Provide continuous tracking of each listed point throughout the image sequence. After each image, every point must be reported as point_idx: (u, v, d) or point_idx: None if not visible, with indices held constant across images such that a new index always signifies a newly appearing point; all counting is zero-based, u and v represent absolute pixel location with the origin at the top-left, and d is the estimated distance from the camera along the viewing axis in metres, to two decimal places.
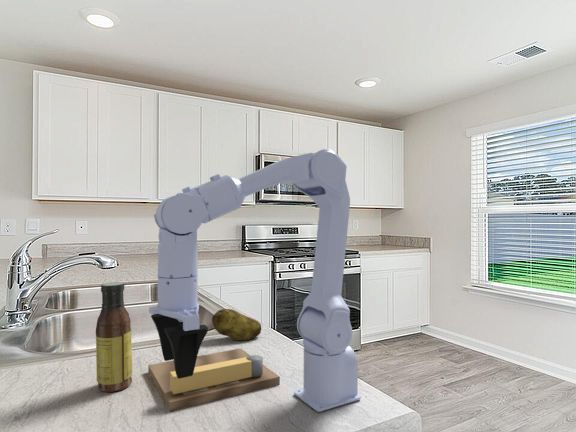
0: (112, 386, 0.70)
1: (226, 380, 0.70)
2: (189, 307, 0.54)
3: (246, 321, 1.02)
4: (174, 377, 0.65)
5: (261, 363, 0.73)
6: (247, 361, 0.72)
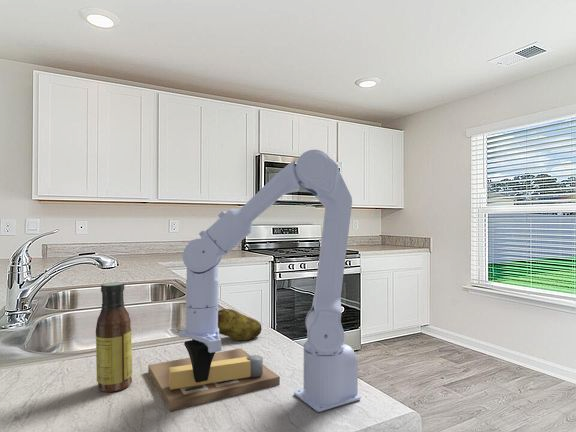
0: (112, 386, 0.70)
1: (224, 378, 0.71)
2: (211, 332, 0.66)
3: (246, 321, 1.02)
4: (171, 373, 0.67)
5: (260, 363, 0.73)
6: (246, 361, 0.73)
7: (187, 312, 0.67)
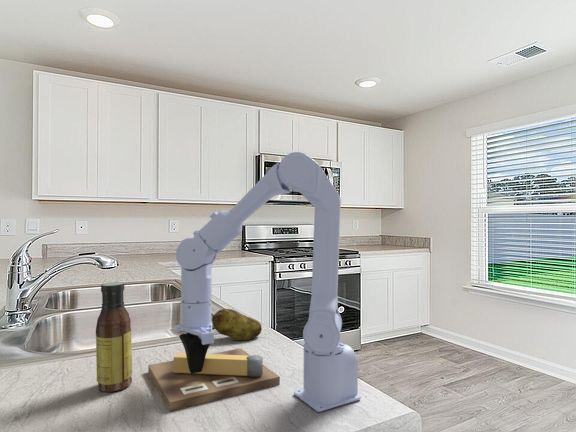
0: (112, 386, 0.70)
1: (221, 372, 0.74)
2: (205, 325, 0.71)
3: (246, 321, 1.02)
4: (174, 357, 0.75)
5: (257, 364, 0.73)
6: (243, 359, 0.74)
7: (182, 307, 0.71)
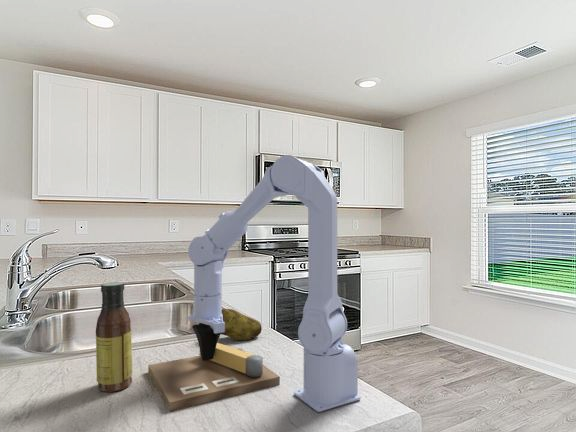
0: (112, 386, 0.70)
1: (228, 365, 0.77)
2: (216, 316, 0.77)
3: (246, 321, 1.02)
4: None
5: (252, 364, 0.73)
6: (244, 357, 0.75)
7: (195, 300, 0.77)
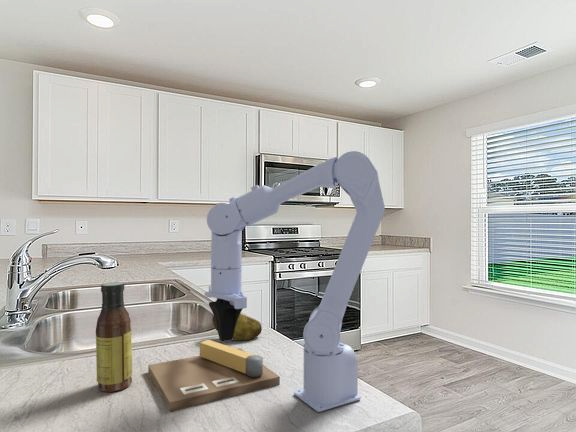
0: (112, 386, 0.70)
1: (228, 365, 0.77)
2: (236, 292, 0.70)
3: (246, 321, 1.02)
4: (200, 343, 0.84)
5: (252, 364, 0.73)
6: (244, 357, 0.75)
7: (213, 273, 0.70)
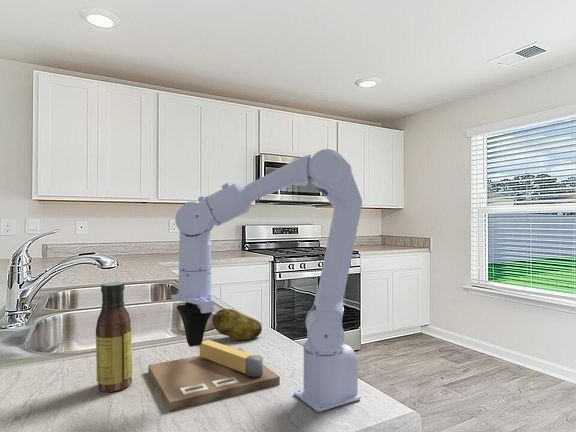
0: (112, 386, 0.70)
1: (228, 365, 0.77)
2: (204, 295, 0.67)
3: (246, 321, 1.02)
4: None
5: (252, 364, 0.73)
6: (244, 357, 0.75)
7: (180, 275, 0.67)
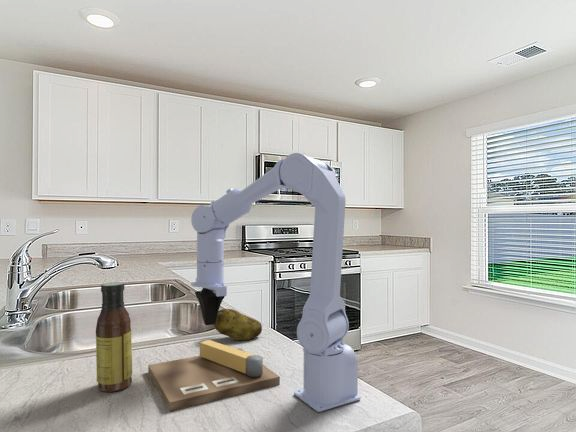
0: (112, 386, 0.70)
1: (228, 365, 0.77)
2: (218, 282, 0.80)
3: (246, 321, 1.02)
4: (200, 343, 0.84)
5: (252, 364, 0.73)
6: (244, 357, 0.75)
7: (198, 266, 0.80)
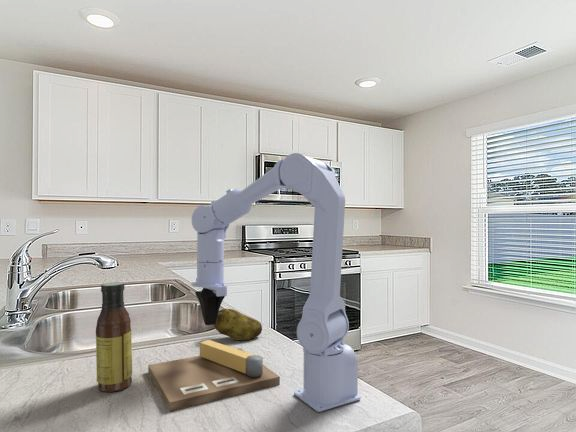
0: (112, 386, 0.70)
1: (228, 365, 0.77)
2: (218, 282, 0.80)
3: (246, 320, 1.02)
4: (200, 343, 0.84)
5: (252, 364, 0.73)
6: (244, 357, 0.75)
7: (198, 266, 0.80)
